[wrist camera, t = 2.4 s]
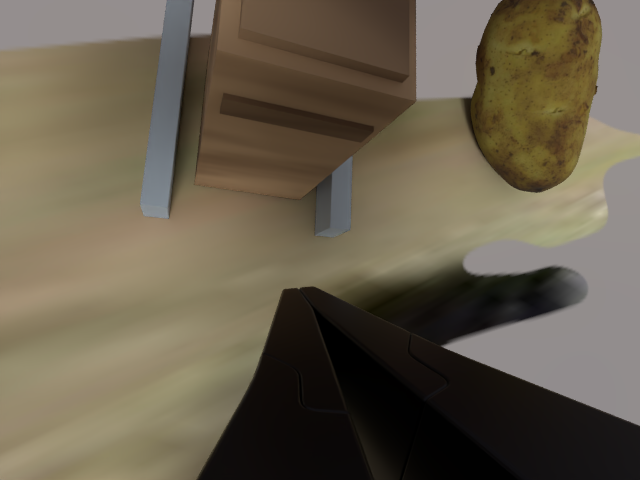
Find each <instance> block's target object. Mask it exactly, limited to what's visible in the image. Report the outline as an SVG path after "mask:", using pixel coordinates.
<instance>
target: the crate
mask: <svg viewBox="0 0 640 480" xmlns="http://www.w3.org/2000/svg"><path fill="white" fill-rule="evenodd" d="M415 102H416V0H216V4H215V12H214V19H213V26H212V34H211V41H210V48H209V55H208V63H207V70H206V80H205V89H204V99H203V108H202V118H201V127H200V136H199V146H198V155H197V165H196V174H195V184H194V185H201V186H208V187H215V188H221V189H228V190H235V191H242V192H249V193H256V194H263V195H270V196H277V197H284V198H291V199H298V200H300V199H301V198H303V197H304V196H305V195H306V194H307V193H308V192H310V191H311V190H312V189H313V188H314V187H316V186H317V185H318V184H319V183H320V182H321V181H323V180H324V179H325V178H326V177H327V176H329V175H330V174H331V173H332V172H333V171H334V170H336V169H337V168H338V167H339V166H340V165H342V164H343V163H344V162H345V161H346V160H347V159H349V158H350V157H351V156H352V155H353V154H355V153H356V152H357V151H358V150H359V149H360V148H362V147H363V146H364V145H365V144H366V143H368V142H369V141H370V140H371V139H372V138H373V137H375V136H376V135H377V134H378V133H379V132H381V131H382V130H383V129H384V128H385V127H386V126H388V125H389V124H390V123H391V122H392V121H394V120H395V119H396V118H397V117H398V116H399V115H401V114H402V113H403V112H404V111H405V110H407V109H408V108H409V107H410V106H411V105H412V104H414V103H415Z"/></svg>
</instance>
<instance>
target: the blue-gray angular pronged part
mask: <svg viewBox="0 0 640 480" xmlns="http://www.w3.org/2000/svg"><path fill="white" fill-rule="evenodd" d="M193 5H194V0H167V3H166V11H165V18H164V26H163V33H162V41H161V49H160V56H159V64H158V71H157V79H156V87H155V94H154V102H153V109H152V117H151V125H150V132H149V140H148V147H147V155H146V163H145V170H144V178H143V185H142V193H141V201H140V206H141V209H142V212H143V215H144V216H149V217H158V218H166V219H169V211H170V203H171V194H172V186H173V177H174V168H175V160H176V151H177V143H178V134H179V126H180V117H181V108H182V100H183V91H184V83H185V74H186V66H187V57H188V49H189V40H190V31H191V22H192V14H193ZM352 157H353V155H352V156H351V157H350V158H349V159H347V160H346V161H345V162H344V163H343V164H342V165H340V166H339V167H338V168H337V169H336V170H334V171H333V172H332V173H331V174H330V175H329V176H327V177H326V178H325V179H324V180H323V181H321V182H320V183H319V184H318V185H317V195H316V217H315V235H317V236H325V237H335V236H338V235H340V234H342V233H345V232H347V231H349V230H350V227H351V192H352Z"/></svg>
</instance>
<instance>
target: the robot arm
mask: <svg viewBox="0 0 640 480" xmlns="http://www.w3.org/2000/svg"><path fill="white" fill-rule="evenodd" d="M197 480H640V426H639V425H636V424H634V423H631V422H629V421H626V420H624V419H621V418H619V417H616V416H613V415H611V414H609V413H606V412H603V411H601V410H598V409H596V408H593V407H591V406H588V405H586V404H583V403H581V402H578V401H576V400H573V399H570V398H568V397H566V396H563V395H560V394H558V393H555V392H553V391H550V390H548V389H545V388H543V387H540V386H538V385H535V384H533V383H530V382H528V381H525V380H522V379H520V378H518V377H515V376H512V375H510V374H507V373H505V372H502V371H500V370H497V369H495V368H492V367H490V366H487V365H485V364H482V363H479V362H477V361H475V360H472V359H470V358H467V357H465V356H462V355H460V354H457V353H455V352H453V351H450V350H448V349H445V348H443V347H441V346H439V345H436V344H434V343H432V342H430V341H428V340H425V339H423V338H421V337H419V336H417V335H415V334H411V333H410V332H408V331H406V330H404V329H401V328H399V327H397V326H395V325H393V324H391V323H389V322H387V321H385V320H383V319H381V318H379V317H376V316H374V315H372V314H370V313H368V312H366V311H364V310H362V309H360V308H358V307H356V306H354V305H351V304H349V303H347V302H345V301H343V300H341V299H339V298H337V297H335V296H333V295H331V294H329V293H326V292H324V291H322V290H320V289H318V288H316V287H313V286H312V287H302V288H300V289H298V288H291V289H284V290H283V291H282V294H281V297H280V300H279V303H278V306H277V309H276V312H275V315H274V318H273V321H272V324H271V327H270V330H269V333H268V337H267V340H266V343H265V346H264V349H263V352H262V355H261V357H260V360H259V363H258V366H257V368H256V371H255V373H254V376H253V379H252V381H251V383H250V385H249V387H248V389H247V391H246V393H245V395H244V396H243V398H242V400H241V402H240V403H239V405H238V407H237V409H236V411H235V412H234V414H233V416H232V418H231V419H230V421H229V423H228V425H227V426H226V428H225V430H224V432H223V434H222V435H221V437H220V439H219V441H218V442H217V444H216V446H215V448H214V449H213V451H212V453H211V455H210V457H209V458H208V460H207V462H206V464H205V465H204V467H203V469H202V471H201V472H200V474H199V476H198V478H197Z"/></svg>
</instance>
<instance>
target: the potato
mask: <svg viewBox="0 0 640 480" xmlns="http://www.w3.org/2000/svg"><path fill="white" fill-rule="evenodd" d="M601 39H602V28H601V20H600V17H599V14H598V11H597V8H596V7H595V4H594V2H593V1H592V0H502V1H501V2H500V3H499V4H498V5H497V7H496V8H495V10H494V12H493V13H492V14H491V17H490V19H489V22H488V24H487V26H486V28H485V30H484V33H483V36H482V39H481V42H480V45H479V46H478V49H477V55H476V73H477V80H478V82H477V85H476V88H475V91H474V93H473V96H472V100H471V119H472V124H473V129H474V133H475V136H476V139H477V141H478V144H479V146H480V149H481V150H482V152H483V154H484V156H485V157H486V159H487V161H488V162H489V163H490V165H491V166H492V167H493V168H494V169H495V170H496V171H497V173H498V174H499V175H500V176H501V177H502V178H503V179H504V180H505V181H506V182H507V183H508V184H510V185H511V186H513V187H514V188H516V189H519V190H522V191H527V192H535V193H538V192H543V191H545V190H548V189H550V188H552V187H554V186H557V185H558V184H560V183H562V182H563V181H564V180H566V179H567V178H568V177H569V176H570V175H571V173H572V172H573V170H574V168H575V166H576V164H577V162H578V159H579V156H580V152H581V149H582V145H583V141H584V138H585V134H586V129H587V124H588V118H589V112H590V108H591V104H592V100H593V96H594V95H595V94H596V92H597V86H596V82H597V77H598V60H599V52H600V47H601Z"/></svg>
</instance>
